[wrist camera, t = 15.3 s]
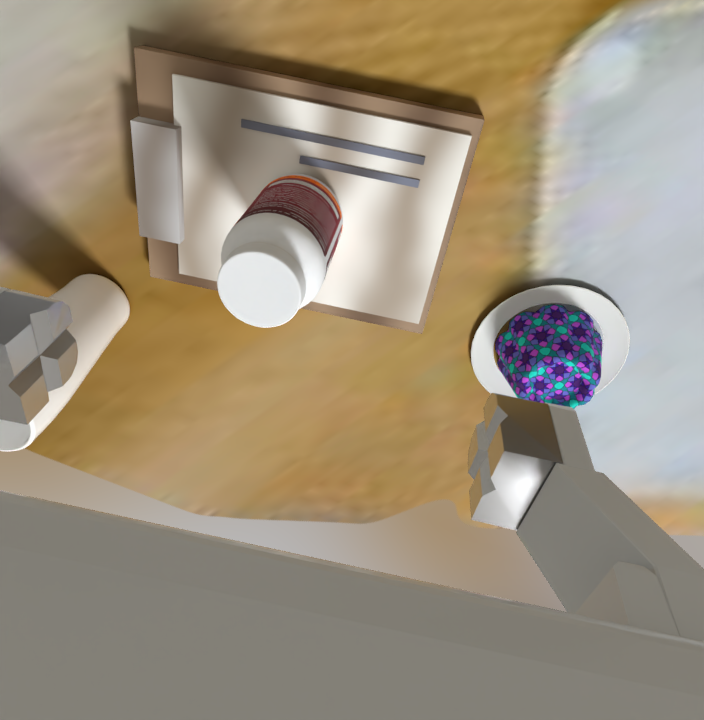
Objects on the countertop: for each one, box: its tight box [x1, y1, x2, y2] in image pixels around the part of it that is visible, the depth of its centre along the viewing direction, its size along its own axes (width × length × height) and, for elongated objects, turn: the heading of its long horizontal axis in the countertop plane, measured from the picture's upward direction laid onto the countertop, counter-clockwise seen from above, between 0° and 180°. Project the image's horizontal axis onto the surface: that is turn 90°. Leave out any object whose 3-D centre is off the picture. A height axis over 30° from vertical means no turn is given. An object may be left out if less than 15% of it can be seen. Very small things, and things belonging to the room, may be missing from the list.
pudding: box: [471, 285, 630, 409], centre depth 41 cm, size 12×12×5 cm
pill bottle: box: [217, 174, 343, 328], centre depth 33 cm, size 6×6×11 cm
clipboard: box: [130, 45, 484, 334], centre depth 38 cm, size 22×16×2 cm
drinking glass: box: [0, 274, 130, 451], centre depth 40 cm, size 7×7×15 cm
